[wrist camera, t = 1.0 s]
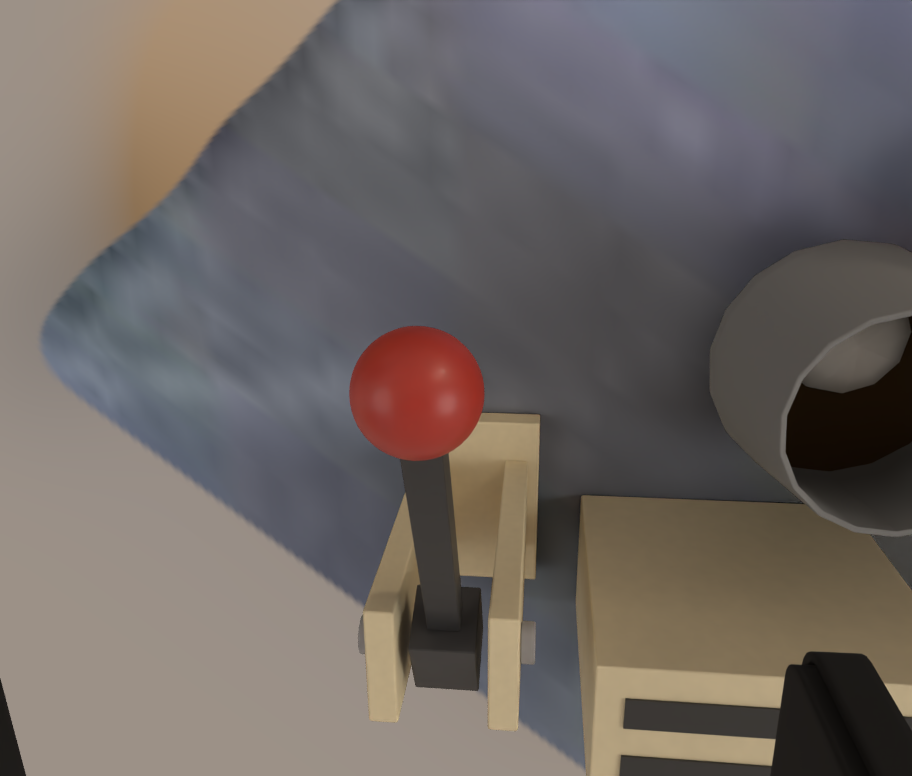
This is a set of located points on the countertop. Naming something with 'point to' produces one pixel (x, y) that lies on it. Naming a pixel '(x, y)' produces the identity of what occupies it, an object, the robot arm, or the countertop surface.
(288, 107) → the countertop surface
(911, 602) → the toaster
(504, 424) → the lever bracket
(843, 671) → the robot arm
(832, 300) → the cup
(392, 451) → the red knob lever
